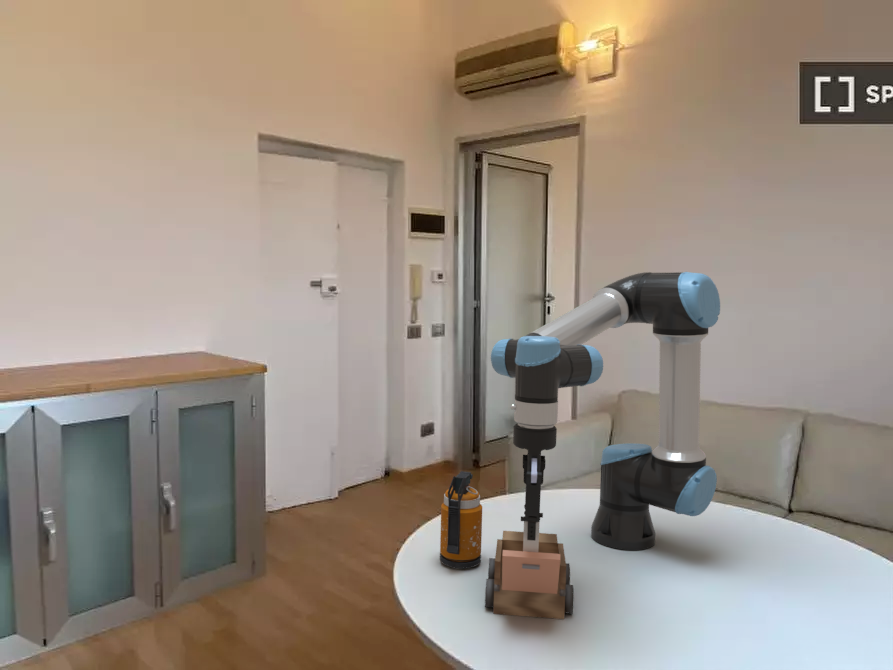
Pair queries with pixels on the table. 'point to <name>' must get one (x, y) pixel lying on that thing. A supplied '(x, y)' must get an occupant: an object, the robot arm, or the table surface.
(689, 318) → the robot arm
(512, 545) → the truck
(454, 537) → the canister
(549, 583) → the panel
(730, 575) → the table surface
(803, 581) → the table surface
